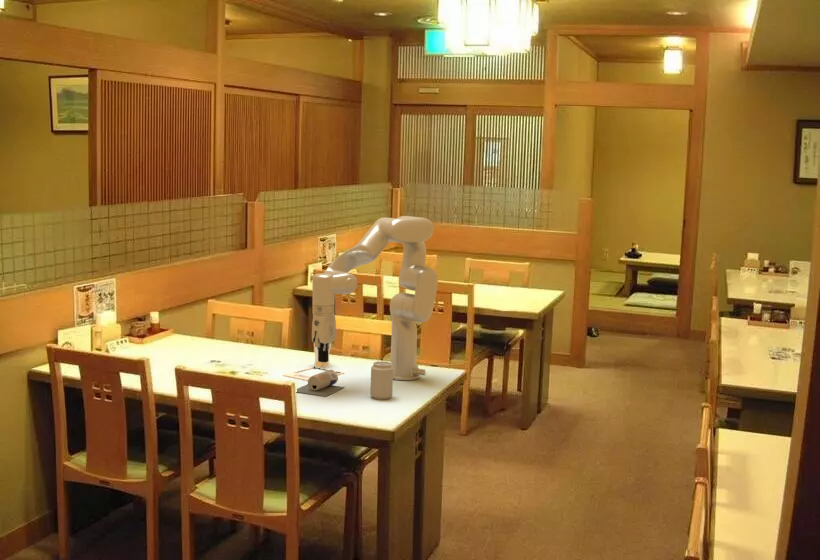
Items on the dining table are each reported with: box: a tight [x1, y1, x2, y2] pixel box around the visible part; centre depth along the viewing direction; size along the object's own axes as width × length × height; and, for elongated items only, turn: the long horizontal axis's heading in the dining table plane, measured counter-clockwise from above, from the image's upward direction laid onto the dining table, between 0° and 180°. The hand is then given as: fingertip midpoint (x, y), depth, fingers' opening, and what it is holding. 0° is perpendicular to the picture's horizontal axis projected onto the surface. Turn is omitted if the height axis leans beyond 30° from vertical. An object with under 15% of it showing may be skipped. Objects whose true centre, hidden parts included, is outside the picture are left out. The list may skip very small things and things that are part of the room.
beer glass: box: [313, 342, 332, 369], centre depth 352 cm, size 7×7×15 cm
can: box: [369, 360, 394, 401], centre depth 309 cm, size 8×8×12 cm
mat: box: [296, 383, 345, 398], centre depth 317 cm, size 13×14×1 cm
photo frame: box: [282, 366, 345, 382], centre depth 339 cm, size 15×1×18 cm
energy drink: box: [307, 369, 339, 391], centre depth 318 cm, size 5×5×12 cm
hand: (323, 361), depth 315 cm, fingers closed
